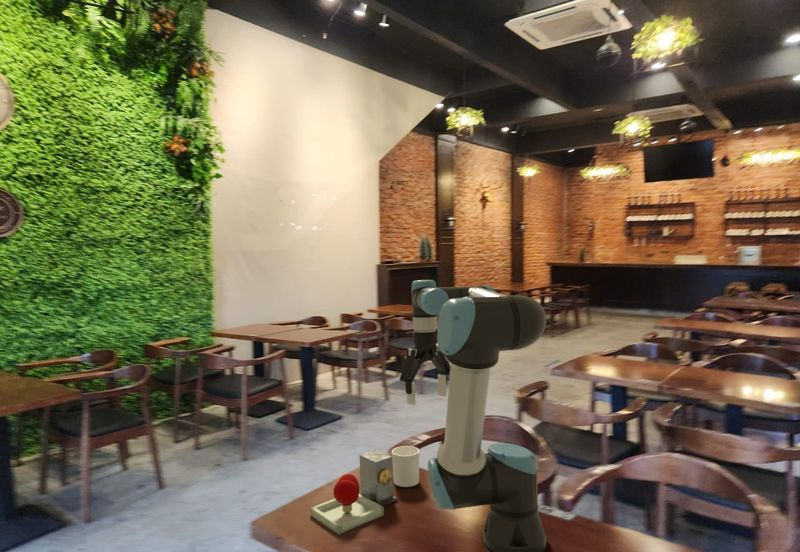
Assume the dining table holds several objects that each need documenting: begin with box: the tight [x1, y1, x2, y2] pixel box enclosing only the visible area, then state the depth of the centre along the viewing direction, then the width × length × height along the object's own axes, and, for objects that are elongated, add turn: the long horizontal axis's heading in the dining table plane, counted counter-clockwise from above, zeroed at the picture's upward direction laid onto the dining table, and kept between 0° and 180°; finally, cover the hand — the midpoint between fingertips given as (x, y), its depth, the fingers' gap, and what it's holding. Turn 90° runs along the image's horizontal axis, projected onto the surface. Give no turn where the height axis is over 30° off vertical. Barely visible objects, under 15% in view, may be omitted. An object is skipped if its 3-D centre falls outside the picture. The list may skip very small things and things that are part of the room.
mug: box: [391, 445, 421, 489], centre depth 164 cm, size 11×9×10 cm
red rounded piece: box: [333, 473, 360, 514], centre depth 143 cm, size 9×7×10 cm
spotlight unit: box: [359, 449, 398, 508], centre depth 152 cm, size 10×7×13 cm
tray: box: [310, 494, 385, 535], centre depth 143 cm, size 14×15×2 cm
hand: (427, 399), depth 157 cm, fingers open, 13 cm apart
